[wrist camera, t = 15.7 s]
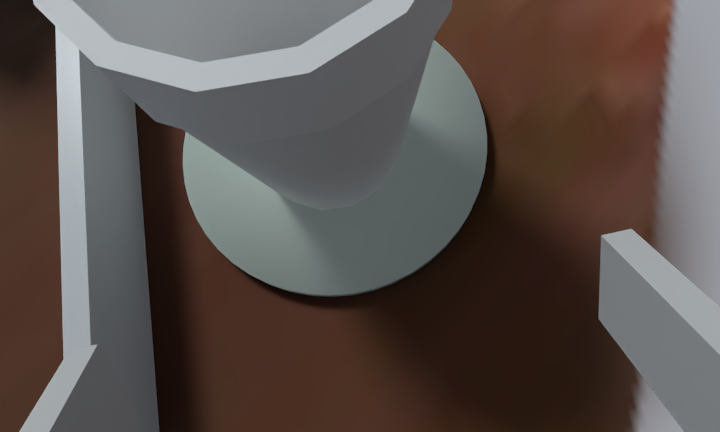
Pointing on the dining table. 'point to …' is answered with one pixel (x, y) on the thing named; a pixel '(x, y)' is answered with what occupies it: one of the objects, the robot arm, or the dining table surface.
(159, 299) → the dining table surface
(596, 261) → the dining table surface
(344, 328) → the dining table surface
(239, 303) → the dining table surface
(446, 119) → the resting disc
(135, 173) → the acrylic wall
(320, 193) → the foam cup
